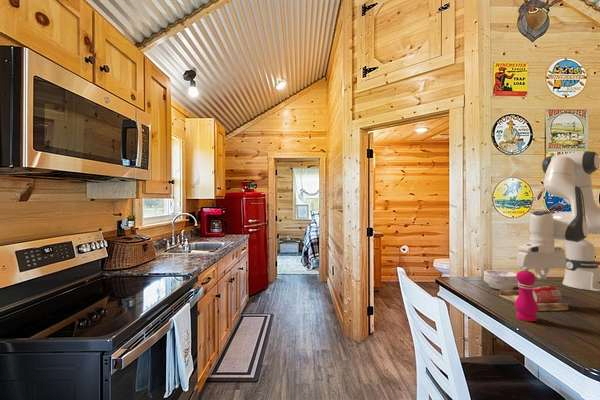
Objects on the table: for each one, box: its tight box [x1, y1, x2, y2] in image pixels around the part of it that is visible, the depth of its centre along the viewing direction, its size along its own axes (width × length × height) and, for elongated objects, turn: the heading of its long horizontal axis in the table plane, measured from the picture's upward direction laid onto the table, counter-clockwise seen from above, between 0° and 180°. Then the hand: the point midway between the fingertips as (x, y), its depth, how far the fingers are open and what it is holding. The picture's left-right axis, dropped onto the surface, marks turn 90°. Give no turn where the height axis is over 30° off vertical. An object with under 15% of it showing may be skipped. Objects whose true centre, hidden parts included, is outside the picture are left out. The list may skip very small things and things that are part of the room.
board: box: [498, 289, 569, 312], centre depth 135 cm, size 15×20×2 cm
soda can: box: [533, 285, 562, 304], centre depth 132 cm, size 7×7×13 cm
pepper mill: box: [514, 267, 539, 323], centre depth 116 cm, size 7×7×20 cm
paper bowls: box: [483, 269, 519, 291], centre depth 157 cm, size 15×15×8 cm
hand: (541, 278), depth 135 cm, fingers closed
